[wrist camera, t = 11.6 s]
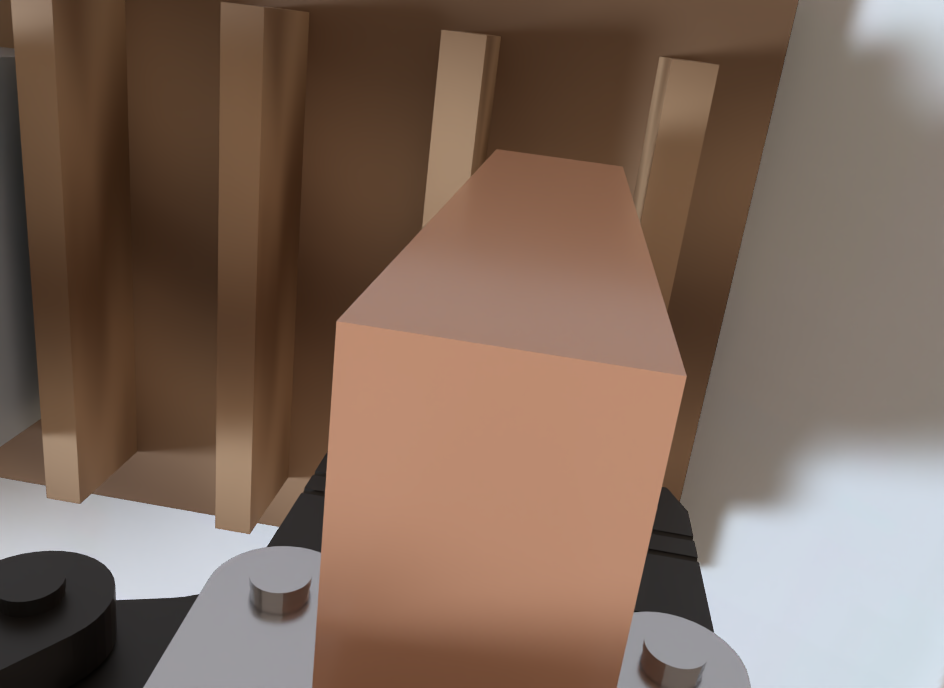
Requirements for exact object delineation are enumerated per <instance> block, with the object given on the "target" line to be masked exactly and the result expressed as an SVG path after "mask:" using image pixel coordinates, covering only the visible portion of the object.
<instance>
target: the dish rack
mask: <svg viewBox="0 0 944 688" xmlns="http://www.w3.org/2000/svg"><path fill="white" fill-rule="evenodd" d="M798 1H799V0H0V47H7V48H14V51H15V65H16V78H17V92H18V106H19V120H20V134H21V148H22V162H23V175H24V189H25V203H26V217H27V231H28V245H29V259H30V272H31V286H32V300H33V314H34V328H35V342H36V356H37V369H38V383H39V397H40V411H41V419H40V420H38V421H37V422H35V423H34V424H32V425H31V426H30V427H28V428H27V429H25V430H24V431H22V432H21V433H19V434H18V435H17V436H15V437H14V438H12V439H11V440H9V441H8V442H6V443H5V444H4V445H2V446H1V447H0V477H1V478H6V479H12V480H17V481H23V482H29V483H34V484H40V485H46V494H47V498H50V499H55V500H61V501H67V502H72V503H78V504H80V503H82V502H83V501H84V500H85V499H86V498H87V497H88V496H89V495H90V494H97V495H102V496H108V497H113V498H119V499H125V500H130V501H136V502H142V503H147V504H153V505H159V506H164V507H170V508H176V509H181V510H187V511H193V512H198V513H204V514H209V515H215V528H218V529H224V530H229V531H235V532H240V533H246V534H250V533H251V531H252V530H253V529H254V527H255V526H256V524H257V523H260V524H266V525H272V526H277V527H280V525H281V524H282V522H283V521H284V519H285V518H286V516H287V514H288V513H289V511H290V510H291V508H292V506H293V505H294V503H295V502H296V500H297V499H298V497H299V495H300V494H301V493H303V492H304V488H305V486H306V484H307V483H308V481H309V480H310V478H311V477H312V475H314V474H315V470H316V469H317V467H318V466H319V464H320V462H321V461H322V459H323V458H324V456H325V454H326V453H327V451H328V441H329V426H330V411H331V396H332V381H333V366H334V351H335V336H336V321H337V320H338V319H339V318H340V317H341V316H342V315H343V314H344V312H345V311H346V310H347V309H348V308H349V307H350V306H351V305H352V304H353V303H354V302H355V301H356V300H357V299H358V297H359V296H360V295H361V294H362V293H363V292H364V291H365V290H366V289H367V288H368V287H369V286H370V285H371V283H372V282H373V281H374V280H375V279H376V278H377V277H378V276H379V275H380V274H381V273H382V272H383V271H384V270H385V268H386V267H387V266H388V265H389V264H390V263H391V262H392V261H393V260H394V259H395V258H396V257H397V256H398V254H399V253H400V252H401V251H402V250H403V249H404V248H405V247H406V246H407V245H408V244H409V243H410V242H411V241H412V239H413V238H414V237H415V236H416V235H417V234H418V233H419V232H420V231H421V230H422V229H423V228H424V227H425V225H426V224H427V223H428V222H429V221H430V220H431V219H432V218H433V217H434V216H435V215H436V214H437V213H438V212H439V210H440V209H441V208H442V207H443V206H444V205H445V204H446V203H447V202H448V201H449V200H450V199H451V198H452V197H453V195H454V194H455V193H456V192H457V191H458V190H459V189H460V188H461V187H462V186H463V185H464V184H465V183H466V181H467V180H468V179H469V178H470V177H471V176H472V175H473V174H474V173H475V172H476V171H477V170H478V169H479V168H480V166H481V165H482V164H483V163H484V162H485V161H486V160H487V159H488V158H489V157H490V156H491V155H492V154H493V152H494V151H495V150H496V149H499V150H506V151H514V152H521V153H528V154H535V155H543V156H550V157H557V158H564V159H572V160H579V161H586V162H593V163H601V164H608V165H615V166H622V167H623V169H624V172H625V175H626V179H627V182H628V185H629V188H630V192H631V195H632V198H633V202H634V205H635V208H636V211H637V215H638V218H639V221H640V225H641V228H642V231H643V234H644V238H645V241H646V244H647V248H648V251H649V254H650V257H651V261H652V264H653V267H654V270H655V274H656V277H657V280H658V284H659V287H660V290H661V293H662V297H663V300H664V303H665V307H666V310H667V313H668V316H669V320H670V323H671V326H672V330H673V333H674V336H675V339H676V343H677V346H678V349H679V352H680V356H681V359H682V362H683V366H684V369H685V372H686V375H687V377H686V382H685V386H684V391H683V395H682V400H681V404H680V408H679V413H678V417H677V422H676V426H675V431H674V435H673V440H672V444H671V448H670V453H669V457H668V462H667V466H666V471H665V475H664V480H663V484H662V487H666V488H668V489H669V491H670V492H671V493H672V494H673V495H674V496H675V498H676V499H677V500H678V501H679V502H680V498H681V494H682V489H683V485H684V481H685V477H686V473H687V468H688V464H689V460H690V456H691V452H692V447H693V443H694V439H695V435H696V430H697V426H698V422H699V418H700V414H701V409H702V405H703V401H704V397H705V393H706V388H707V384H708V380H709V376H710V371H711V367H712V363H713V359H714V355H715V350H716V346H717V342H718V338H719V334H720V329H721V325H722V321H723V317H724V313H725V308H726V304H727V300H728V296H729V291H730V287H731V283H732V279H733V275H734V270H735V266H736V262H737V258H738V254H739V249H740V245H741V241H742V237H743V232H744V228H745V224H746V220H747V216H748V211H749V207H750V203H751V199H752V195H753V190H754V186H755V182H756V178H757V174H758V169H759V165H760V161H761V157H762V152H763V148H764V144H765V140H766V136H767V131H768V127H769V123H770V119H771V115H772V110H773V106H774V102H775V98H776V93H777V89H778V85H779V81H780V77H781V72H782V68H783V64H784V60H785V56H786V51H787V47H788V43H789V39H790V35H791V30H792V26H793V22H794V18H795V13H796V9H797V5H798Z"/></svg>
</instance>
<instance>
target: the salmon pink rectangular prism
mask: <svg viewBox="0 0 944 688" xmlns="http://www.w3.org/2000/svg"><path fill="white" fill-rule="evenodd" d="M686 377H687V375H686V372H685V369H684V366H683V362H682V359H681V356H680V352H679V349H678V346H677V343H676V339H675V336H674V333H673V330H672V326H671V323H670V320H669V316H668V313H667V310H666V307H665V303H664V300H663V297H662V293H661V290H660V287H659V284H658V280H657V277H656V274H655V270H654V267H653V264H652V261H651V257H650V254H649V251H648V248H647V244H646V241H645V238H644V234H643V231H642V228H641V225H640V221H639V218H638V215H637V211H636V208H635V205H634V202H633V198H632V195H631V192H630V188H629V185H628V182H627V179H626V175H625V172H624V169H623V167H622V166H615V165H608V164H601V163H593V162H586V161H579V160H572V159H564V158H557V157H550V156H543V155H535V154H528V153H521V152H514V151H506V150H499V149H496V150H495V151H494V152H493V154H492V155H491V156H490V157H489V158H488V159H487V160H486V161H485V162H484V163H483V164H482V165H481V166H480V168H479V169H478V170H477V171H476V172H475V173H474V174H473V175H472V176H471V177H470V178H469V179H468V180H467V181H466V183H465V184H464V185H463V186H462V187H461V188H460V189H459V190H458V191H457V192H456V193H455V194H454V195H453V197H452V198H451V199H450V200H449V201H448V202H447V203H446V204H445V205H444V206H443V207H442V208H441V209H440V210H439V212H438V213H437V214H436V215H435V216H434V217H433V218H432V219H431V220H430V221H429V222H428V223H427V224H426V225H425V227H424V228H423V229H422V230H421V231H420V232H419V233H418V234H417V235H416V236H415V237H414V238H413V239H412V241H411V242H410V243H409V244H408V245H407V246H406V247H405V248H404V249H403V250H402V251H401V252H400V253H399V254H398V256H397V257H396V258H395V259H394V260H393V261H392V262H391V263H390V264H389V265H388V266H387V267H386V268H385V270H384V271H383V272H382V273H381V274H380V275H379V276H378V277H377V278H376V279H375V280H374V281H373V282H372V283H371V285H370V286H369V287H368V288H367V289H366V290H365V291H364V292H363V293H362V294H361V295H360V296H359V297H358V299H357V300H356V301H355V302H354V303H353V304H352V305H351V306H350V307H349V308H348V309H347V310H346V311H345V312H344V314H343V315H342V316H341V317H340V318H339V319H338V320H337V321H336V336H335V351H334V366H333V381H332V396H331V411H330V426H329V441H328V456H327V471H326V486H325V502H324V517H323V532H322V547H321V562H320V577H319V592H318V607H317V622H316V637H315V652H314V667H313V682H312V688H617V684H618V680H619V675H620V671H621V666H622V662H623V657H624V653H625V648H626V644H627V640H628V635H629V631H630V626H631V622H632V617H633V613H634V608H635V604H636V600H637V595H638V591H639V586H640V582H641V577H642V573H643V568H644V564H645V560H646V555H647V551H648V546H649V542H650V537H651V533H652V528H653V524H654V520H655V515H656V511H657V506H658V502H659V497H660V493H661V488H662V484H663V480H664V475H665V471H666V466H667V462H668V457H669V453H670V448H671V444H672V440H673V435H674V431H675V426H676V422H677V417H678V413H679V408H680V404H681V400H682V395H683V391H684V386H685V382H686Z"/></svg>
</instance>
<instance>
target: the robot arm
mask: <svg viewBox="0 0 944 688" xmlns="http://www.w3.org/2000/svg"><path fill="white" fill-rule="evenodd" d="M327 456H328V451H327V453H326V454H325V456H324V458H323V459H322V461H321V462H320V464H319V466H318V467H317V469H316V470H315V474H314V475H312V477H311V478H310V480H309V481H308V483H307V484H306V486H305V488H304V492H303V493H301V494H300V495H299V497H298V499H297V500H296V502H295V503H294V505H293V506H292V508H291V510H290V511H289V513H288V514H287V516H286V518H285V519H284V521H283V522H282V524H281V525H280V527H279V529H278V530H277V532H276V533H275V535H274V536H273V538H272V540H271V541H270V543H269V544H268V546H267V547H265V548H260V549H255V550H251V551H248V552H245V553H242V554H239V555H237V556H235V557H233V558H231V559H229V560H228V561H226V562H225V563H223V564H222V565H221V566H219V567H218V568H217V569H216V570H215V571H214V572H213V574H212V575H211V576H210V578H209V579H208V581H207V582H206V584H205V586H204V587H203V589H202V591H201V592H200V594H198V595H192V596H187V597H177V598H160V599H136V600H116V592H115V581H114V577H113V575H112V573H111V572H110V570H109V569H108V568H107V567H106V566H105V565H104V564H102V563H101V562H99V561H98V560H96V559H94V558H91V557H89V556H86V555H82V554H78V553H73V552H66V551H40V552H32V553H25V554H20V555H16V556H12V557H8V558H5V559H2V560H0V688H312V682H313V667H314V652H315V637H316V622H317V607H318V592H319V577H320V562H321V547H322V532H323V517H324V502H325V486H326V471H327ZM697 558H698V557H697V552H696V547H695V543H694V541H693V534H692V529H691V524H690V520H689V515H688V511H687V510H686V509H685V508H684V507H683V506H682V504H681V503H680V502H679V501H678V500H677V499H676V498H675V496H674V495H673V494H672V493H671V492H670V491H669V489H668V488H666V487H662V488H661V493H660V497H659V502H658V506H657V511H656V515H655V520H654V524H653V528H652V533H651V537H650V542H649V546H648V551H647V555H646V560H645V564H644V568H643V573H642V577H641V582H640V586H639V591H638V595H637V600H636V604H635V608H634V613H633V617H632V622H631V626H630V631H629V635H628V640H627V644H626V648H625V653H624V657H623V662H622V666H621V671H620V675H619V680H618V684H617V688H751V686H750V680H749V676H748V673H747V669H746V667H745V666H744V664H743V662H742V660H741V659H740V657H739V656H738V655H737V653H736V652H735V651H734V650H733V649H732V648H731V647H730V646H729V645H728V644H727V643H726V642H725V641H724V640H723V639H721V638H720V637H719V636H718V635H716V634H715V633H714V630H713V625H712V621H711V616H710V612H709V607H708V602H707V598H706V593H705V589H704V584H703V579H702V575H701V570H700V566H699V562H697Z"/></svg>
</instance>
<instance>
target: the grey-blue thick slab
mask: <svg viewBox="0 0 944 688" xmlns="http://www.w3.org/2000/svg"><path fill="white" fill-rule="evenodd" d="M40 419H41V411H40V397H39V383H38V369H37V356H36V342H35V328H34V314H33V300H32V286H31V272H30V259H29V245H28V231H27V217H26V203H25V189H24V175H23V162H22V148H21V134H20V120H19V106H18V92H17V78H16V65H15V51H14V48H7V47H0V447H1V446H2V445H4V444H5V443H6V442H8V441H9V440H11V439H12V438H14V437H15V436H17V435H18V434H19V433H21V432H22V431H24V430H25V429H27V428H28V427H30V426H31V425H32V424H34V423H35V422H37V421H38V420H40Z"/></svg>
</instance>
